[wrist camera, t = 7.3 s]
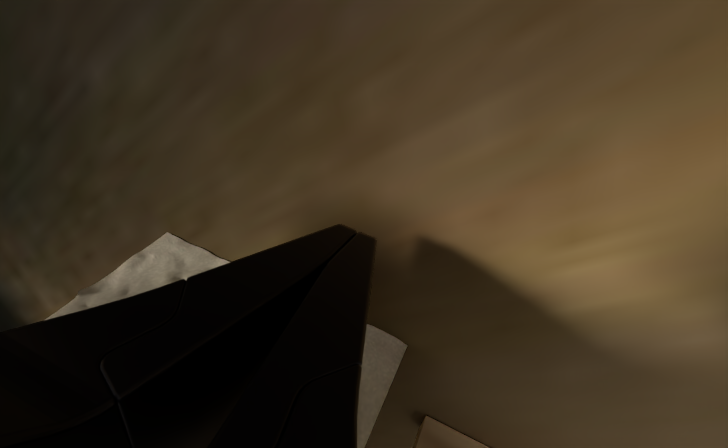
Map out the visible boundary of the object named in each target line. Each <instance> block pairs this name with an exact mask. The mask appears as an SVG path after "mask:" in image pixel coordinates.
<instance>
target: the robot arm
mask: <svg viewBox="0 0 728 448" xmlns="http://www.w3.org/2000/svg"><path fill="white" fill-rule="evenodd" d="M376 243H377V241H376V239H375V238H374V237H371V236H369V235H366V234H364V233H361V232H359V233H357V231H356V230H354V229H352V228H349V227H347V226H345V225H342V224H338V225H335V226H332V227H329V228H326V229H323V230H320V231H318V232H315V233H312V234H309V235H306V236H303V237H301V238H298V239H295V240H292V241H289V242H286V243H284V244H281V245H278V246H275V247H272V248H269V249H267V250H264V251H261V252H258V253H255V254H252V255H250V256H247V257H244V258H241V259H238V260H235V261H233V262H230V263H227V264H224V265H221V266H218V267H216V268H213V269H210V270H207V271H204V272H201V273H198V274H196V275H193V276H190V277H188V278H187V280H185V279H181V280H178V281H175V282H173V283H170V284H167V285H164V286H161V287H158V288H155V289H152V290H149V291H146V292H143V293H140V294H137V295H134V296H131V297H127V298H124V299H120V300H117V301H113V302H110V303H106V304H103V305H99V306H96V307H92V308H89V309H85V310H81V311H77V312H74V313H70V314H66V315H63V316H59V317H55V318H51V319H48V320H44V321H40V322H36V323H33V324H29V325H25V326H22V327H18V328H14V329H10V330H7V331H3V332H0V448H357V415H358V402H359V389H360V380H361V372H362V367H361V366H362V362H363V353H364V345H365V336H366V328H367V319H368V311H369V302H370V294H371V285H372V277H373V269H374V260H375V252H376Z"/></svg>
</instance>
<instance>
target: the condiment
mask: <svg viewBox="0 0 728 448" xmlns="http://www.w3.org/2000/svg"><path fill="white" fill-rule="evenodd" d="M227 263H230V262H229V261H227V260H224V259H221V258H218V257H216V256H215V255H213V254H211V253H210V252H208V251H206V250H204V249H202V248H200V247H197V246H194V245H191V244H189V243H187V242H185V241H183V240H182V239H180V238H178V237H176V236H174V235H171V234H170V233H166V234H164V235H163V236H162V237H160V238H159V239H158V240H156V241H155V242H154V243H152V244H151V245H149V246H148V247H147V248H145V249H144V250H142V251H141V252H139V253H137V254H135V255H133V256H132V257H131V258H129V259H128V260H127V261H125V262H124V263H123V264H122V265H121V266H120V267H118V268H117V269H116V270H115V271H113V272H112V273H110V274H109V275H108V276H106V277H105V278H103V279H102V280H101V281H99V282H97V283H95V284H94V285H92V286H91V287H88V288H85V289H82V290H80V291H79V292H78V295H77V296H76V297H75V299H73V300H72V301H71V302H69V303H68V304H67V305H65V306H64V307H62V308H61V309H60V310H58V311H57V312H56V313H54V314H53V315H51V316H50V317H48V318H47V319H45V320H48V319H51V318H55V317H59V316H63V315H66V314H70V313H74V312H77V311H81V310H85V309H89V308H92V307H96V306H99V305H103V304H106V303H110V302H113V301H117V300H120V299H124V298H127V297H131V296H134V295H137V294H140V293H143V292H146V291H149V290H152V289H155V288H158V287H161V286H164V285H167V284H170V283H173V282H175V281H178V280H181V279H185V280H187V278H188V277H190V276H193V275H196V274H198V273H201V272H204V271H207V270H210V269H213V268H216V267H218V266H221V265H224V264H227ZM407 346H408V345H406V344H404V343H403V342H402V341H400V340H399V339H397V338H396V337H394V336H392V335H390V334H388V333H386V332H384V331H382V330H380V329H378V328H376V327H374V326H372V325H369V324H367V328H366V336H365V345H364V353H363V362H362V366H361V367H362V372H361V380H360V389H359V402H358V415H357V448H365V445H366V443H367V441H368V439H369V436H370V434H371V431H372V429H373V426H374V424H375V422H376V419H377V417H378V414H379V412H380V410H381V407H382V405H383V402H384V400H385V398H386V395H387V393H388V391H389V388H390V386H391V384H392V382H393V379H394V376H395V374H396V372H397V369H398V367H399V365H400V362H401V360H402V357H403V355H404V353H405V350H406V348H407Z"/></svg>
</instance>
